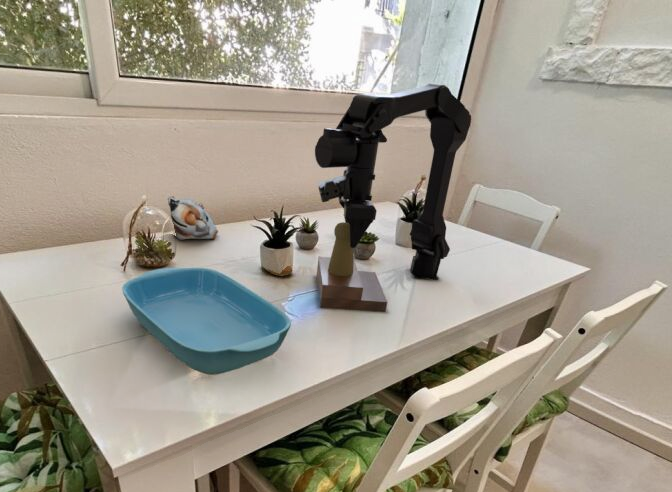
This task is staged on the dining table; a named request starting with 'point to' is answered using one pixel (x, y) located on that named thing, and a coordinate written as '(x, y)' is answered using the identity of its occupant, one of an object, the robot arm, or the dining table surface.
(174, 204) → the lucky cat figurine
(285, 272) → the pastry
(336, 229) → the olive green pawn
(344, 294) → the shelf
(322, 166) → the robot arm
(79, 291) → the dining table surface
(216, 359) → the casserole dish
